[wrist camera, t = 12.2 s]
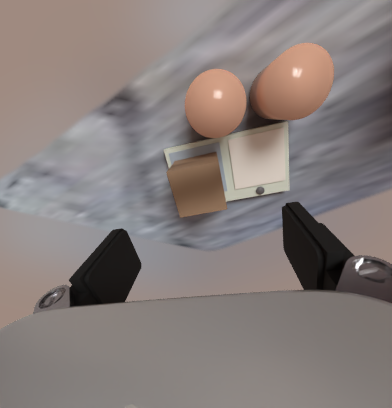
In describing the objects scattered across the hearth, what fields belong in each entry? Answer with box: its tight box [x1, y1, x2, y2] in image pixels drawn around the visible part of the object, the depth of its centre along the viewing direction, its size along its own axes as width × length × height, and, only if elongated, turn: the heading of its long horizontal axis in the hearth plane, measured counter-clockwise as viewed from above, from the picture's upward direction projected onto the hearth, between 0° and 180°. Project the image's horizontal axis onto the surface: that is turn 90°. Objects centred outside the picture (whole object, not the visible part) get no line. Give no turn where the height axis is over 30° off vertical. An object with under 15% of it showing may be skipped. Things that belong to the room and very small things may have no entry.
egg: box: [185, 69, 246, 138], centre depth 18 cm, size 5×5×6 cm
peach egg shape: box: [250, 43, 334, 120], centre depth 17 cm, size 5×5×6 cm
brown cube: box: [166, 152, 227, 218], centre depth 20 cm, size 5×5×5 cm
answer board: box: [164, 121, 289, 201], centre depth 23 cm, size 14×8×1 cm, turn 103°
